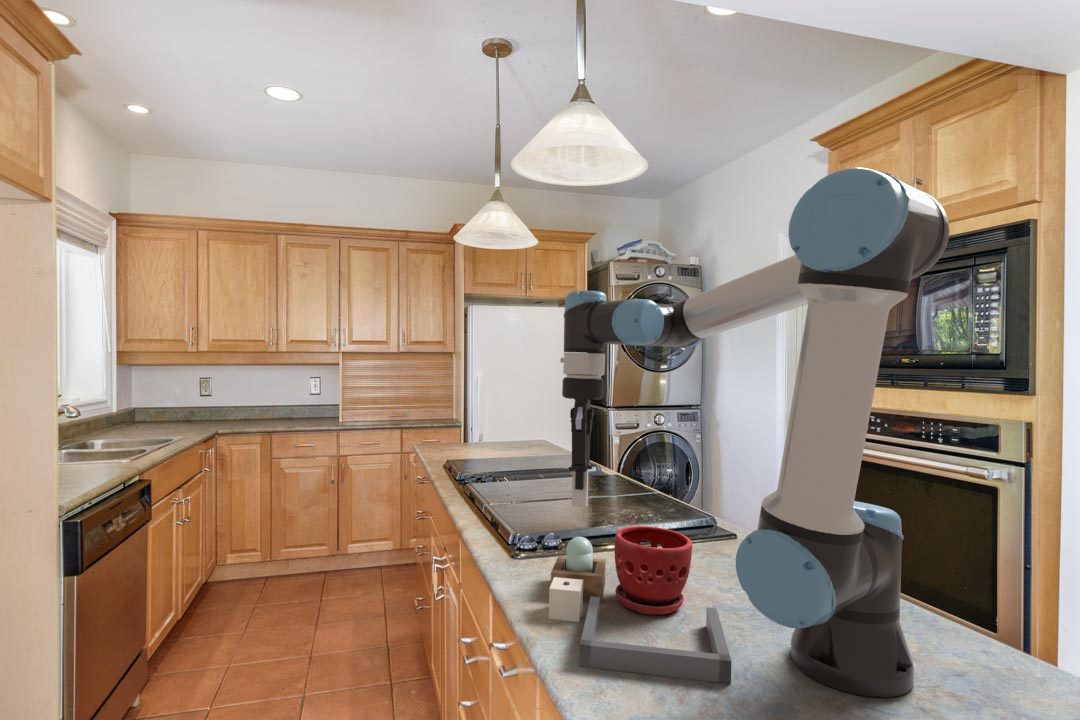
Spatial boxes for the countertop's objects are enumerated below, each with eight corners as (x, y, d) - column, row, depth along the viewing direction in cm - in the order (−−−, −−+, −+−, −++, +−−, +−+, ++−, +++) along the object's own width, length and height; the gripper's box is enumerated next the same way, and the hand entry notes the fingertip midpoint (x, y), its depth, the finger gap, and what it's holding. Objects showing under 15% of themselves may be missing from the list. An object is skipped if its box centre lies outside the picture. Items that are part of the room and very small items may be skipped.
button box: (605, 583, 110) (605, 559, 110) (601, 602, 101) (602, 576, 101) (557, 578, 112) (558, 555, 111) (550, 597, 103) (551, 572, 103)
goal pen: (715, 626, 93) (716, 608, 93) (730, 683, 77) (731, 661, 77) (590, 614, 96) (590, 596, 96) (579, 666, 80) (579, 644, 80)
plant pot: (639, 626, 92) (640, 551, 92) (600, 594, 105) (601, 528, 105) (706, 614, 97) (708, 543, 97) (662, 585, 110) (663, 521, 109)
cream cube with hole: (582, 609, 99) (583, 578, 99) (579, 622, 94) (580, 590, 94) (553, 606, 100) (554, 575, 99) (548, 619, 95) (549, 587, 95)
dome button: (593, 571, 108) (594, 534, 108) (591, 581, 103) (591, 542, 103) (567, 569, 109) (568, 532, 109) (564, 578, 104) (565, 540, 104)
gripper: (567, 374, 113) (563, 495, 114) (557, 377, 100) (553, 513, 101) (606, 376, 112) (602, 498, 112) (601, 379, 99) (597, 517, 99)
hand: (579, 505), depth 106 cm, fingers closed
